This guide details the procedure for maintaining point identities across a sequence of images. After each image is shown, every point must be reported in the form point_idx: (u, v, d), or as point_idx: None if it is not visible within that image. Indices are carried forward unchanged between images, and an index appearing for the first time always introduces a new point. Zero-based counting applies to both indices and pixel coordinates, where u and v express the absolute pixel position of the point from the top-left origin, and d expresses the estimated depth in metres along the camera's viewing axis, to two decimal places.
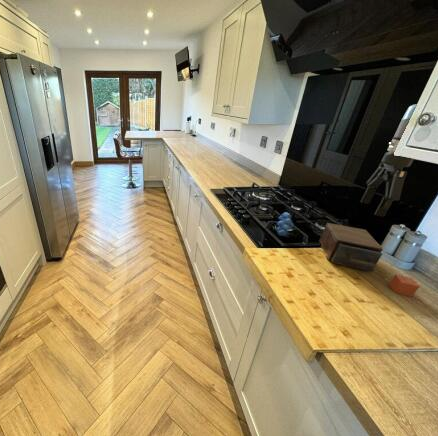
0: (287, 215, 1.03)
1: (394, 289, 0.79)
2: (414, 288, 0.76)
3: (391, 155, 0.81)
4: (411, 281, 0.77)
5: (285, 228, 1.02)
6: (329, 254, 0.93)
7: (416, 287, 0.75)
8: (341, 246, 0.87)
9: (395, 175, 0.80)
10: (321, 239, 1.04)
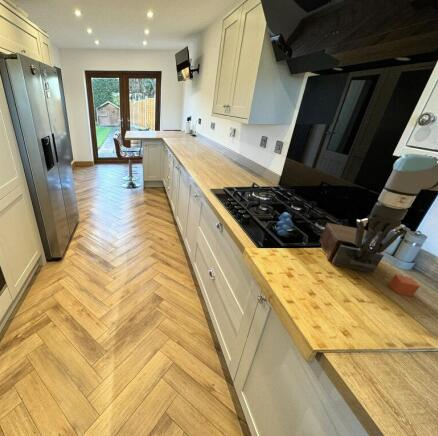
0: (287, 215, 1.03)
1: (394, 289, 0.79)
2: (414, 288, 0.76)
3: (404, 211, 0.71)
4: (411, 281, 0.77)
5: (285, 228, 1.02)
6: (329, 254, 0.93)
7: (416, 287, 0.75)
8: (342, 247, 0.86)
9: (400, 233, 0.75)
10: (321, 239, 1.04)
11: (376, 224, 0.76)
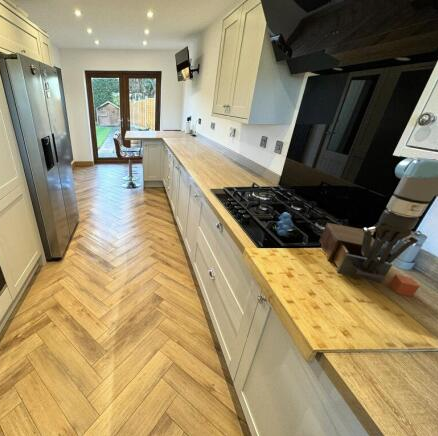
0: (287, 215, 1.03)
1: (394, 289, 0.79)
2: (414, 288, 0.76)
3: (415, 220, 0.66)
4: (411, 281, 0.77)
5: (285, 228, 1.02)
6: (329, 254, 0.93)
7: (416, 287, 0.75)
8: (347, 256, 0.81)
9: (410, 243, 0.70)
10: (321, 239, 1.04)
11: (385, 233, 0.71)
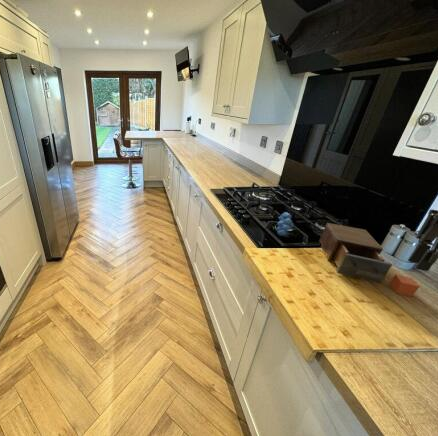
0: (287, 215, 1.03)
1: (394, 289, 0.79)
2: (414, 288, 0.76)
3: None
4: (411, 281, 0.77)
5: (285, 228, 1.02)
6: (329, 254, 0.93)
7: (416, 287, 0.75)
8: (347, 256, 0.81)
9: None
10: (321, 239, 1.04)
11: None
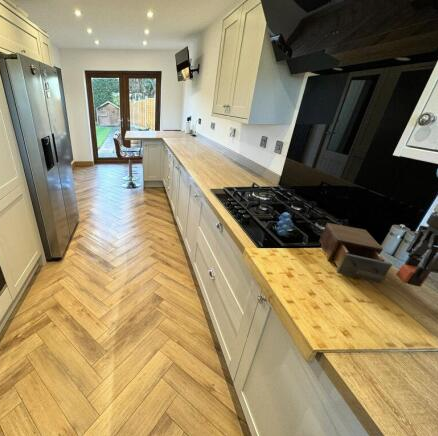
0: (287, 215, 1.03)
1: (402, 279, 0.77)
2: None
3: None
4: None
5: (285, 228, 1.02)
6: (329, 254, 0.93)
7: None
8: (347, 256, 0.81)
9: None
10: (321, 239, 1.04)
11: None
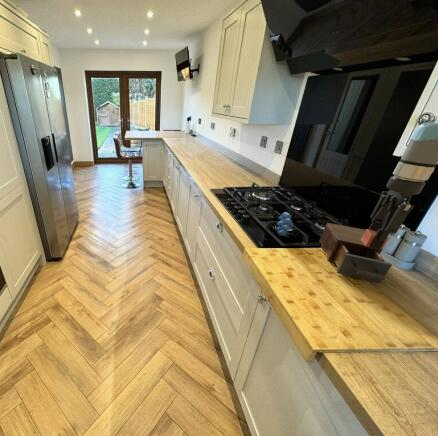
0: (287, 215, 1.03)
1: (365, 243, 0.80)
2: None
3: None
4: None
5: (285, 228, 1.02)
6: (329, 254, 0.93)
7: None
8: (347, 256, 0.81)
9: None
10: (321, 239, 1.04)
11: None
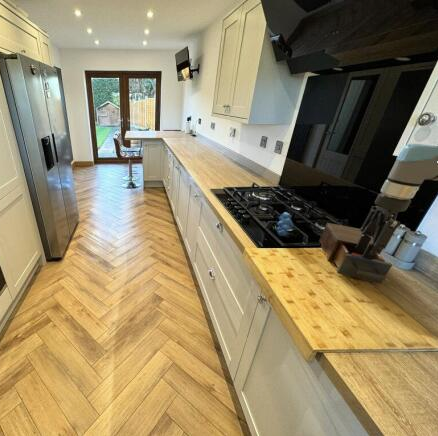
0: (287, 215, 1.03)
1: None
2: None
3: None
4: None
5: (285, 228, 1.02)
6: (329, 254, 0.93)
7: None
8: (347, 256, 0.81)
9: None
10: (321, 239, 1.04)
11: None
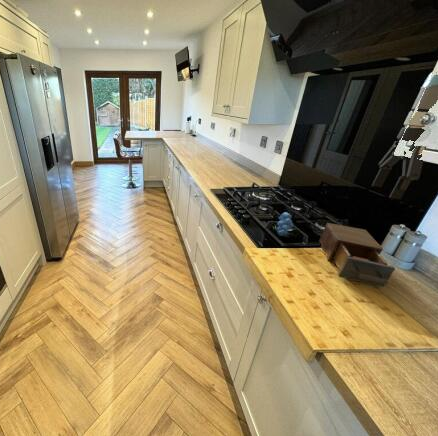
0: (287, 215, 1.03)
1: None
2: None
3: None
4: None
5: (285, 228, 1.02)
6: (329, 254, 0.93)
7: None
8: (349, 259, 0.80)
9: None
10: (321, 239, 1.04)
11: None
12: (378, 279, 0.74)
